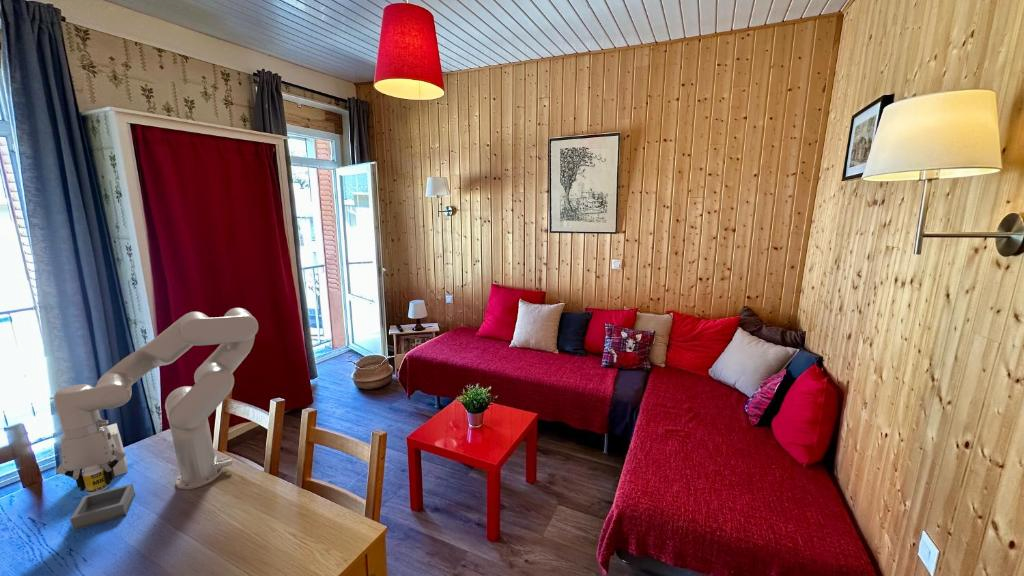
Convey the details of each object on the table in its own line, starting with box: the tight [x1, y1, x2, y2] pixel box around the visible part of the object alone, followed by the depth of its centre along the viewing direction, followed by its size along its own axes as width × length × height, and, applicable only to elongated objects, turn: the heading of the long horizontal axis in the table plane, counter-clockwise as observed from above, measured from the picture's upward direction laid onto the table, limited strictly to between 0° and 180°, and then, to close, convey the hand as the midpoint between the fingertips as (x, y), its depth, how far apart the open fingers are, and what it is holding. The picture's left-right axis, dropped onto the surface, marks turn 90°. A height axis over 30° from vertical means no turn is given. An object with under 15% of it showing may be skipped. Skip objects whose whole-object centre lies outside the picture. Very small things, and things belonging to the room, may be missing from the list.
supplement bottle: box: [82, 464, 110, 495], centre depth 119 cm, size 5×5×8 cm
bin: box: [69, 483, 136, 532], centre depth 121 cm, size 11×10×4 cm
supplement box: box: [106, 422, 128, 477], centre depth 137 cm, size 9×9×15 cm
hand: (97, 484), depth 119 cm, fingers closed on supplement bottle, 4 cm apart
